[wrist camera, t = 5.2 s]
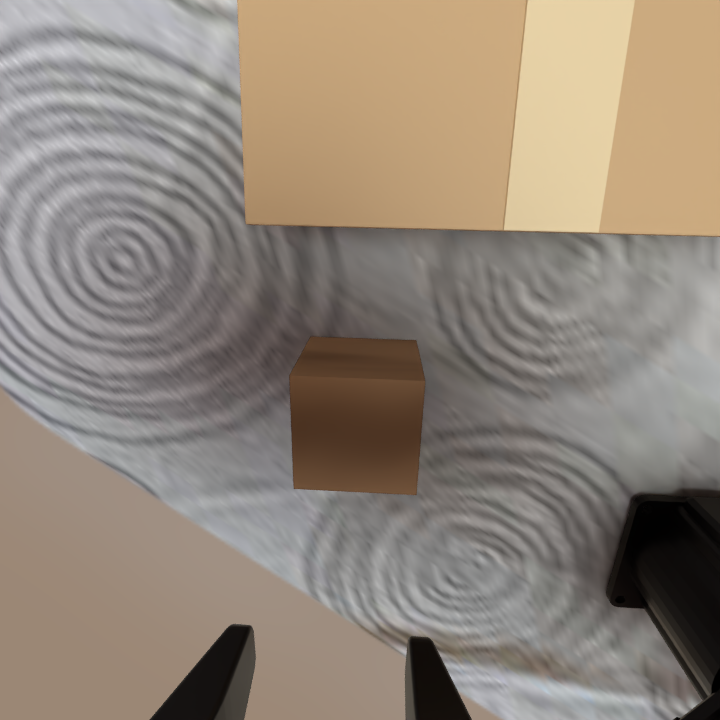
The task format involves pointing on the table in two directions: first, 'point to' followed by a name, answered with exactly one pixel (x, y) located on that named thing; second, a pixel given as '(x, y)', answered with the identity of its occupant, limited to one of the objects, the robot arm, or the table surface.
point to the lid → (482, 115)
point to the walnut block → (357, 415)
